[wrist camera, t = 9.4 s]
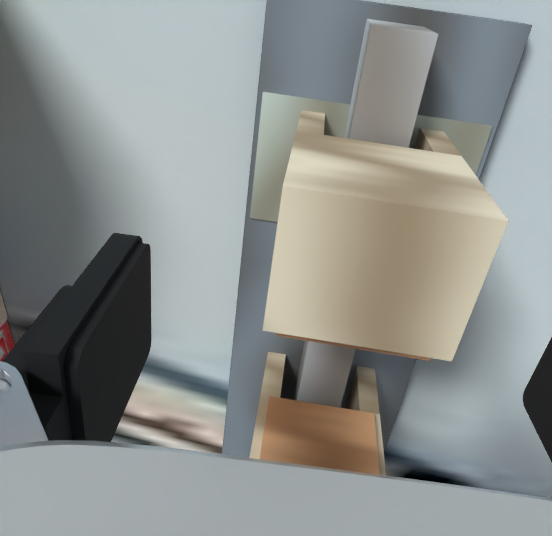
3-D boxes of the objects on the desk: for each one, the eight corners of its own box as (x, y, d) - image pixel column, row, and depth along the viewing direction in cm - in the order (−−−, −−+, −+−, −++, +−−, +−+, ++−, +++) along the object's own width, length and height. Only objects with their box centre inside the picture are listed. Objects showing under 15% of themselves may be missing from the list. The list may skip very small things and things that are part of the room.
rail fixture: (224, 442, 30) (187, 600, 22) (270, -13, 18) (223, -7, 10) (373, 467, 30) (387, 635, 22) (524, 23, 17) (671, 57, 10)
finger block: (284, 226, 21) (260, 344, 14) (301, 109, 19) (282, 185, 12) (409, 245, 21) (446, 374, 14) (443, 131, 19) (508, 220, 12)
